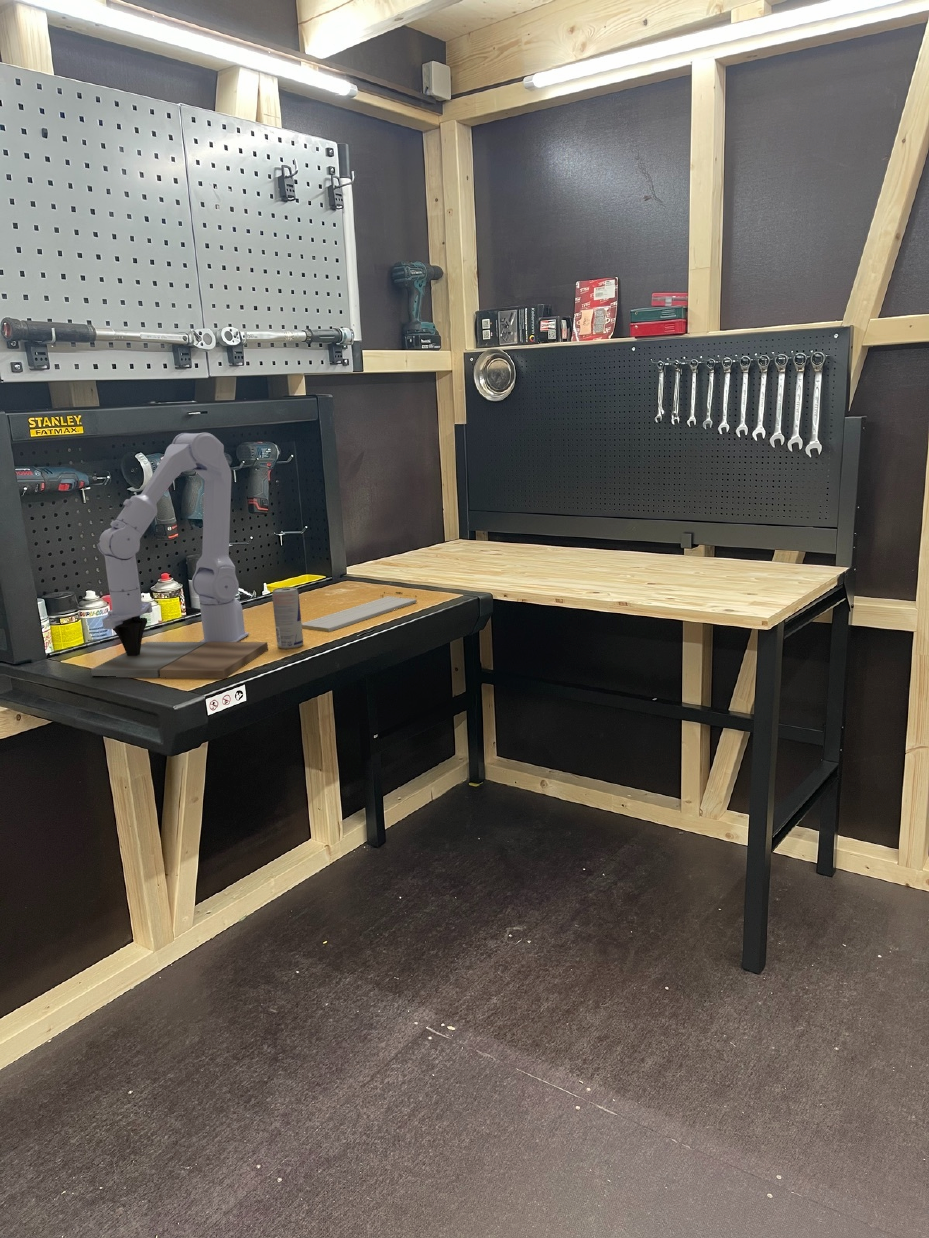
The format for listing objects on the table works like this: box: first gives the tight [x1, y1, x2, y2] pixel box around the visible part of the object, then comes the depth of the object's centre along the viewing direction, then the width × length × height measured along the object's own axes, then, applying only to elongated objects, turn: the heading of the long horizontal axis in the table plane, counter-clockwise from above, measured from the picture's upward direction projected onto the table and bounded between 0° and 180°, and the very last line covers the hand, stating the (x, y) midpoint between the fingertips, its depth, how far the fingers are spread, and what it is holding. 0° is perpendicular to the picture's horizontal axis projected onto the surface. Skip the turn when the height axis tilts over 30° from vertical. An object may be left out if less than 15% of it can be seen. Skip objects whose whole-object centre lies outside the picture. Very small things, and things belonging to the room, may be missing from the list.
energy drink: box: [271, 586, 304, 650], centre depth 190 cm, size 5×5×12 cm
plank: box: [90, 641, 207, 679], centre depth 184 cm, size 20×14×2 cm
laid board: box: [159, 641, 269, 680], centre depth 181 cm, size 20×13×2 cm, turn 168°
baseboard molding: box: [301, 591, 418, 633], centre depth 217 cm, size 31×3×12 cm
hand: (133, 655), depth 185 cm, fingers closed, pressing on plank
